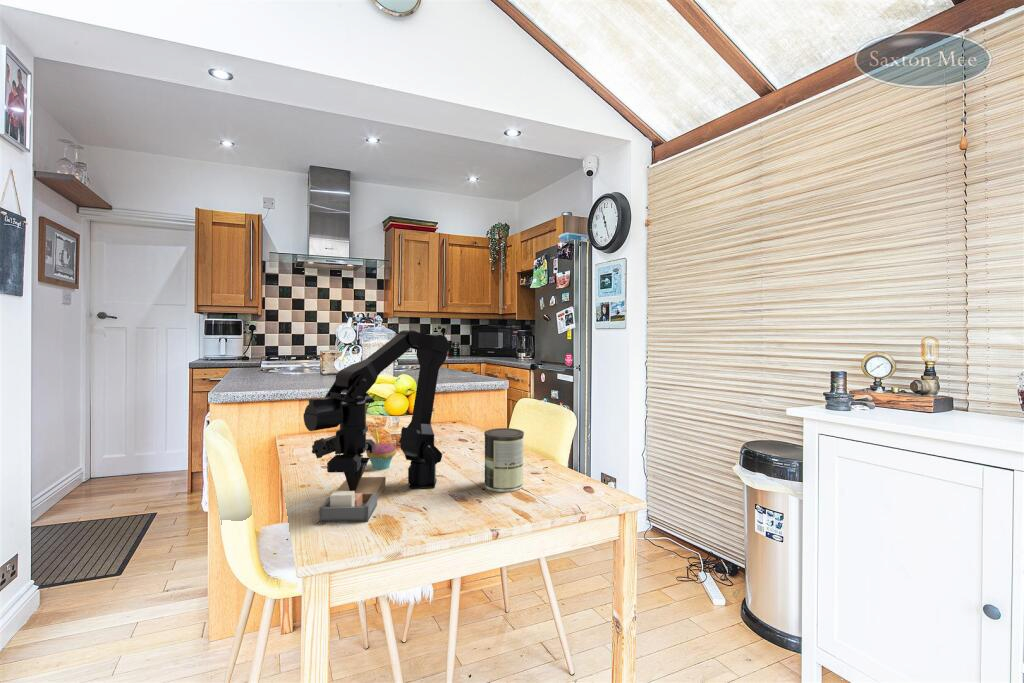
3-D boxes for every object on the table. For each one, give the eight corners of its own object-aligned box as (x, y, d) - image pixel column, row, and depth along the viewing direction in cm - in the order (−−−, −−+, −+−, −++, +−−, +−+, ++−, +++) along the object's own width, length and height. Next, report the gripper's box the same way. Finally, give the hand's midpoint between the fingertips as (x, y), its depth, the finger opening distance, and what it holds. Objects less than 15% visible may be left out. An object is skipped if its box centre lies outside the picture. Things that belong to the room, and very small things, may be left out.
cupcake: (360, 470, 139) (360, 428, 139) (375, 462, 148) (375, 423, 147) (387, 472, 137) (387, 430, 137) (401, 464, 146) (401, 424, 145)
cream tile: (354, 490, 106) (351, 495, 103) (354, 511, 106) (351, 515, 104) (333, 491, 106) (330, 495, 103) (334, 511, 106) (330, 516, 103)
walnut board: (385, 486, 125) (385, 476, 125) (375, 504, 112) (375, 493, 112) (348, 487, 124) (348, 477, 124) (333, 505, 111) (333, 494, 111)
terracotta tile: (362, 503, 111) (362, 493, 111) (357, 511, 106) (356, 500, 106) (342, 504, 110) (342, 493, 110) (336, 511, 106) (336, 500, 106)
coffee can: (476, 487, 124) (476, 433, 124) (497, 477, 133) (498, 426, 133) (510, 495, 119) (510, 438, 119) (530, 483, 128) (531, 430, 128)
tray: (377, 505, 112) (377, 492, 112) (367, 521, 102) (367, 507, 102) (332, 505, 111) (332, 492, 111) (319, 522, 101) (318, 508, 101)
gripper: (329, 416, 119) (329, 479, 119) (301, 433, 100) (301, 507, 101) (375, 416, 120) (375, 479, 120) (356, 432, 101) (356, 506, 102)
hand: (353, 492), depth 111 cm, fingers closed
